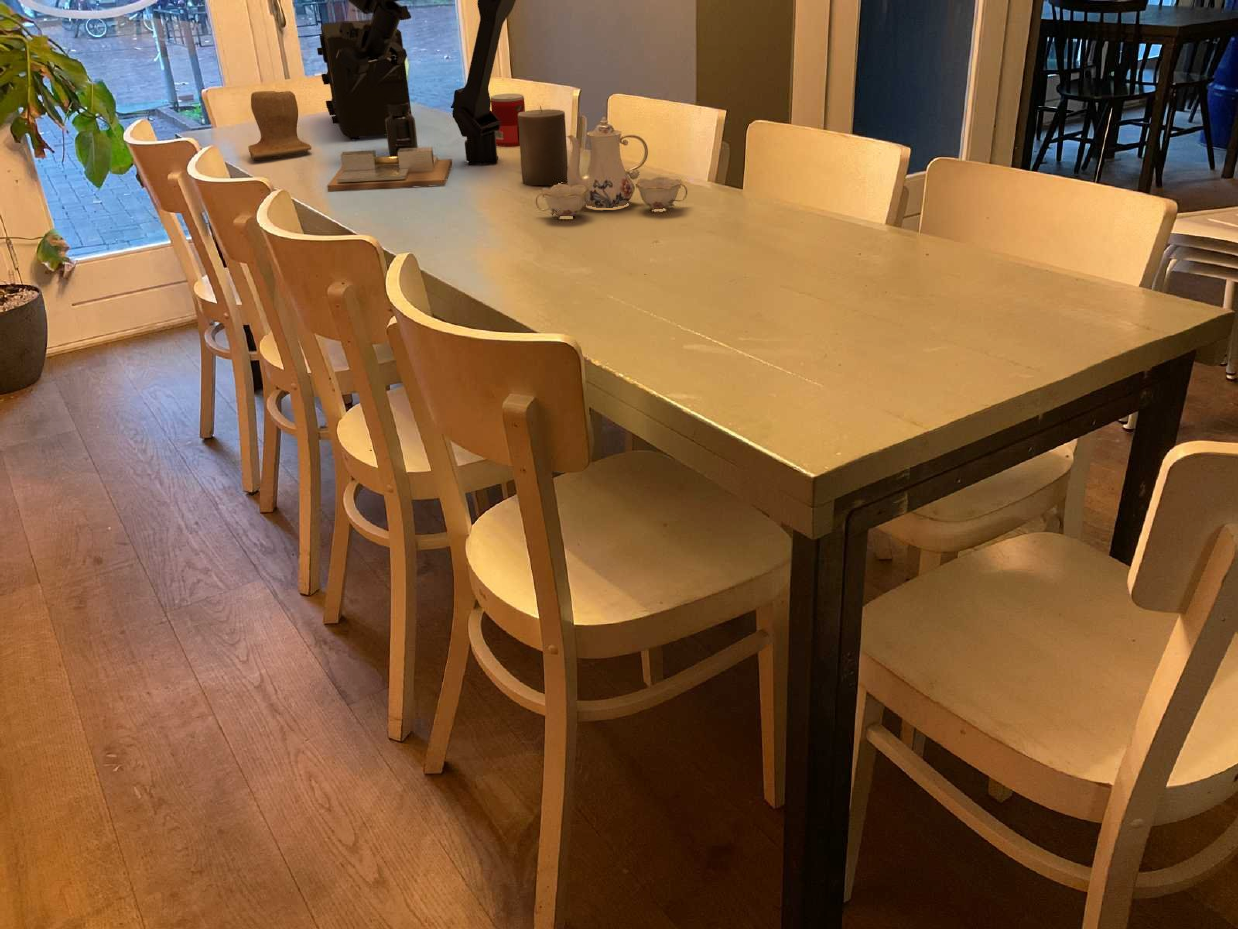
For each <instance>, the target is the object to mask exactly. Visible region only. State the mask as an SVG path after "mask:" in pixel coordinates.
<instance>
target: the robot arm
mask: <svg viewBox="0 0 1238 929" xmlns="http://www.w3.org/2000/svg"><path fill="white" fill-rule="evenodd" d="M346 1H347V2H349V3H350V4H351V5H352V6H354V7H355V8H356V9H358V10H359V11H360V12H362V13H363V14H364V15H368V14H370V13H371V14H372V17H371V18H370V20H371V21H370V24H363V23H360V22H356V21H357V20H350V21H351V22H348V21H349V20H344V21H343V20H342V21H341V22H342V23H341V25H340V28H339V33H340V35H341V36H343V38H344V39H350V40H353V41H357V42H356V45H357V46H358V47H361V48H363V49H362V50H363V52H359V51H358V50H357V49H356V48H354V47H353V46H351V47H346V48H342V49H339V50H338V53H337V56H336V58H337V59H338V60H339V61H340V62H341V63H342V64H343V65H344V66H345V68H346V80H347V90H348V91H349V92H352V91H353V90H354V89H355V87H356V86H357V85H358V83H359V82H360V81H361V80H362V78H363V77H364V76H365V75H366V73H367V72H366V70H367V69H368V67H369V62H371V61H376V60H377V62H376V66H375V70H374V74H373V78H372V84H373V85H374V86H376V85H377V84H378V83H380V82H381V81H382V80H383V79H384V78H385V77H386V76H387V75H389V74H390V73H391V72H392V71H393V70H394V69H396V68H397V67H398V66H400V65H401V63H404V62H405V63H406V60H407V57H408V53H407V50H406V49H405V48H404V46H403V47H401V46H400V45H399V44H397V43H396V42H395V41H397V38H398V37H397V36H396V35H395V32H396V30H397V29H398V26H399V24H400V21H406V20H411V19H412V15H411V12H410V11H409V10H408V6H407V5H400V4H399V3H398V2H399V1H402V0H346ZM516 1H517V0H477V3H476V5H477V10H478V13H479V24H478V29H477V34H476V38H475V42H474V46H473V52H472V55H471V61H470V66H469V71H468V74H467V80H466V84H465V85H464V87H462V88H459V89H458V88H457V89H455V90H454V94H453V100H452V101H453V102H452V104H451V105H450V109H452V113H451V114H452V118H453V120H454V122H455V124H457V126H458V129H459V132H460V135H461V137H462V138H466V139H465V141H464V150H465V158H466V162H467V165H468V166H473V165H474V166H475V165H476V166H478V165H493V164H495V165H496V164H498V162H499V155H498V151H497V150H498V148H497V147H498V146H497V145H496V136H495V131H499V129H500V124H501V121H500V120H499V119H498V118H497V117H496V116H495V115H494V114H493V112H492V109H491V96H490V92H489V91H490V90H489V86H490V82H491V77H492V73H493V69H494V65H495V64H494V63H495V61H496V60H495V59H496V56H497V51H498V46H499V41H500V38H501V33H502V29H503V25H504V23H505V21H506V20H507V18H508V16H509V15H510V14H511V12H512V11H513V9H514V7H515V3H516Z"/></svg>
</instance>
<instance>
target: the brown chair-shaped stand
mask: <svg viewBox="0 0 1238 929" xmlns="http://www.w3.org/2000/svg"><path fill="white" fill-rule="evenodd" d="M296 98H297V97H296V94H294V92H292V91H290V90H285V91H275V90H262V91H258V90H257V91H254V92H251V94H250V107H251V112H252V114H253V117H254V119H255V122H256V125H257V127H258V130H259V132H260V139H259V141H258V142H256V143H255V144H254V143H253V144H249V145H248V146H247V147H248V152H249V154H250V158H251V160H252V161H260V160H268V159H277V158H283V157H284V158H285V157H288V156H292V155H297V154H302V153H305V152H308V151H310V150H312V149H313V148H312V146H311V145H310V144H309V143H306V142H304V141H302V140H301V139H300V138H299V137H298V129H297V128H298V123H299V122H298V121H299V108H298V107H299V106H298V102H297V99H296Z"/></svg>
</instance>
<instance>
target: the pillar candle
mask: <svg viewBox="0 0 1238 929" xmlns="http://www.w3.org/2000/svg"><path fill="white" fill-rule="evenodd" d="M518 125H519V140H520V145H519V151H520V153H519V154H520V167H521V169H520V170H521V180H522V183H523V184H524V183H525V185H530V186H534V185H549V186H554V185H555V184H558V183H561V182H565V183H568V180H567V170H568V165H569V162H568V150H567V149H568V147H567V129H566V113H565V111H564V110H561V109H556V108H555V109H551V108H550V109H549V108H548V109H542V106H539V109H533V110H525V111H524V112H519V113H518Z"/></svg>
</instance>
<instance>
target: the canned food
mask: <svg viewBox="0 0 1238 929" xmlns="http://www.w3.org/2000/svg"><path fill="white" fill-rule="evenodd" d="M490 99H491V105H490V110H491V111H492V112H493V114H494V115H495V116H496V117H497V118H498V119H499V120H500V121H501V124H500V129H499V131H495V136H496V146H497V147H498V146H499V147H518V146H519V147H520V140H519V125H518V113H519V112H524V111H526V106H525V105H526V104H525V96H524V95H523V94H521V93H500V94H499V93H498V94H494V95H492V96H490Z"/></svg>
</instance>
